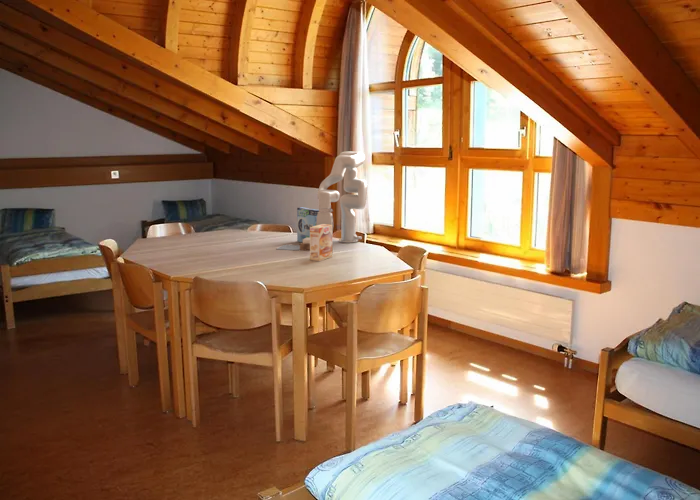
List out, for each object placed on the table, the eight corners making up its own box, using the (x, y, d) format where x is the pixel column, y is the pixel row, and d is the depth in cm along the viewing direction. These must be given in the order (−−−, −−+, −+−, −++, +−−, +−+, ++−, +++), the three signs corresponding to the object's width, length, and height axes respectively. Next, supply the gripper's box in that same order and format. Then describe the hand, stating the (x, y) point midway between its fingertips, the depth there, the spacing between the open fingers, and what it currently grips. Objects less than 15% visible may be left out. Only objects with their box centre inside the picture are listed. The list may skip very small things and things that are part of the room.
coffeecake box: (319, 261, 390) (319, 227, 387) (309, 260, 394) (309, 226, 390) (333, 257, 403) (332, 224, 400) (322, 255, 407) (322, 223, 403)
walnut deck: (320, 247, 436) (320, 240, 435) (313, 250, 422) (313, 244, 422) (306, 246, 438) (306, 240, 437) (299, 250, 425) (299, 243, 424)
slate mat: (306, 246, 439) (306, 245, 439) (298, 250, 424) (298, 250, 424) (284, 245, 443) (284, 244, 443) (275, 249, 428) (275, 248, 428)
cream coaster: (318, 241, 432) (318, 238, 432) (314, 243, 425) (314, 240, 424) (306, 241, 434) (306, 237, 434) (302, 243, 427) (302, 239, 426)
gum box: (297, 241, 457) (296, 207, 453) (303, 240, 460) (302, 207, 456) (314, 245, 442) (313, 210, 438) (320, 244, 445) (320, 209, 441)
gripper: (337, 210, 425) (337, 239, 428) (315, 209, 429) (315, 238, 432) (334, 211, 418) (334, 241, 421) (311, 211, 421) (311, 240, 424)
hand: (324, 239), depth 426 cm, fingers closed
